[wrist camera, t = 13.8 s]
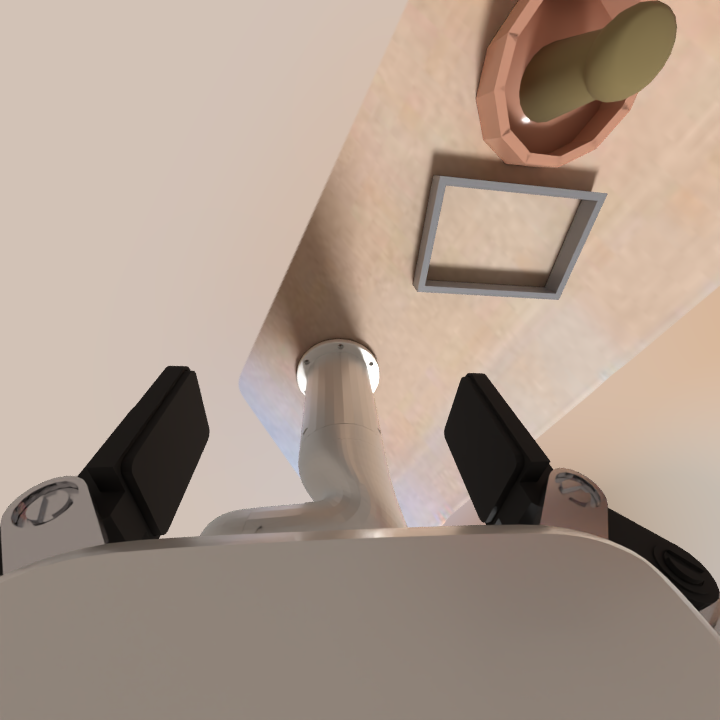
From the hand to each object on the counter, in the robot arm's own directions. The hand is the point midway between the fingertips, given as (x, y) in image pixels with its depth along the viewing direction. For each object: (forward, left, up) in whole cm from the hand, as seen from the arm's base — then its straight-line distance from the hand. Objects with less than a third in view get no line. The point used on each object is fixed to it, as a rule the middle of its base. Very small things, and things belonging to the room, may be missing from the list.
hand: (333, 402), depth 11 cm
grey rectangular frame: (+1, -21, -30) cm, 37 cm away
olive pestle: (+16, -21, -30) cm, 40 cm away
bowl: (+16, -21, -30) cm, 40 cm away
